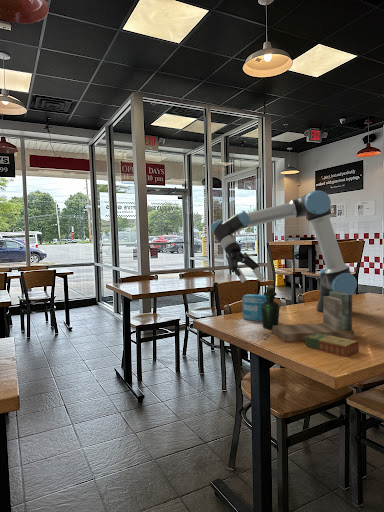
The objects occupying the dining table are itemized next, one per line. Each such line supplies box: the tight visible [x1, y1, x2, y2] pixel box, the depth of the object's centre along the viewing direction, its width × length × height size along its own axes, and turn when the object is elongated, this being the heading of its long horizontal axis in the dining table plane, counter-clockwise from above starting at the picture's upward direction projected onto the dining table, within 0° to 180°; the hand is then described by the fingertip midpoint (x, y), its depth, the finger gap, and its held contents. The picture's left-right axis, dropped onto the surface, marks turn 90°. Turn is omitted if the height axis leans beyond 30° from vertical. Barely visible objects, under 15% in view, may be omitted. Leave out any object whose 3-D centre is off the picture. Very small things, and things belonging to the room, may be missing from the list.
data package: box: [241, 293, 267, 322], centre depth 176 cm, size 12×4×12 cm, turn 65°
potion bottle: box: [261, 286, 281, 330], centre depth 159 cm, size 8×8×18 cm
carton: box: [304, 333, 360, 358], centre depth 127 cm, size 8×16×4 cm, turn 37°
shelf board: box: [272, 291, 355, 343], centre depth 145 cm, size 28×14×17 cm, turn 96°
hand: (253, 280), depth 167 cm, fingers open, 13 cm apart
